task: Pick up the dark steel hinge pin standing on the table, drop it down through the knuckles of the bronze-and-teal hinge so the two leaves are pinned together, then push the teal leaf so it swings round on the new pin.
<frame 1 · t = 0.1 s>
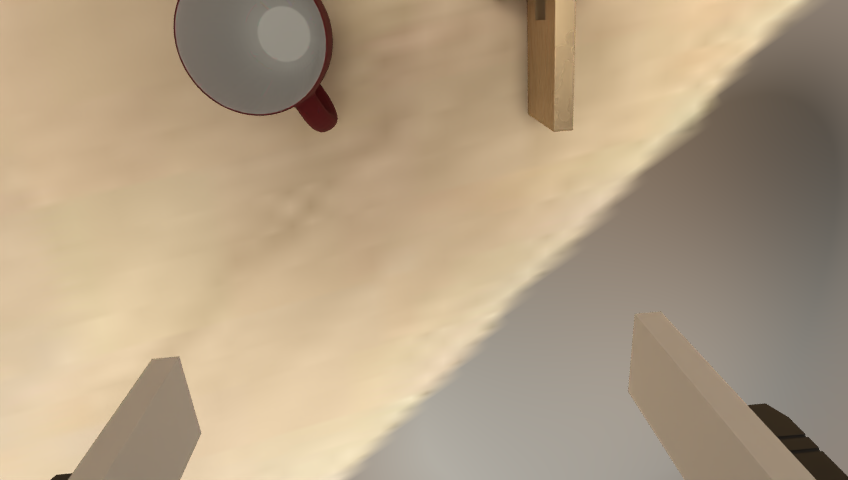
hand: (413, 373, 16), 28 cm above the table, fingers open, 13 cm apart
mug: (297, 48, 39), on the table
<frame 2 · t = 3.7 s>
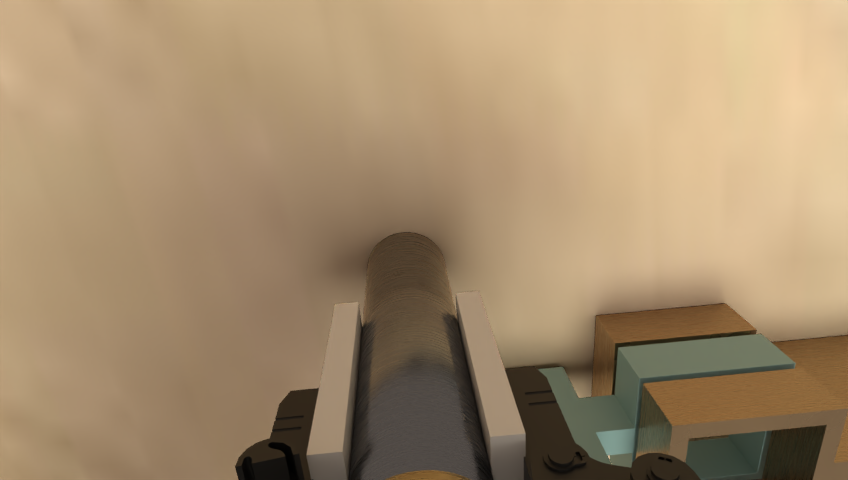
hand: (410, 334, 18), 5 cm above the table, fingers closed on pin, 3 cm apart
leaf a: (655, 364, 25), on the table
pin: (406, 268, 23), on the table, touching gripper
leaf b: (596, 428, 22), point 4 cm above the table, hinge at 180.0°
when the fingers open (8 cm above the table, at t = 8.1 s): pin drops 3 cm, resting in leaf a.
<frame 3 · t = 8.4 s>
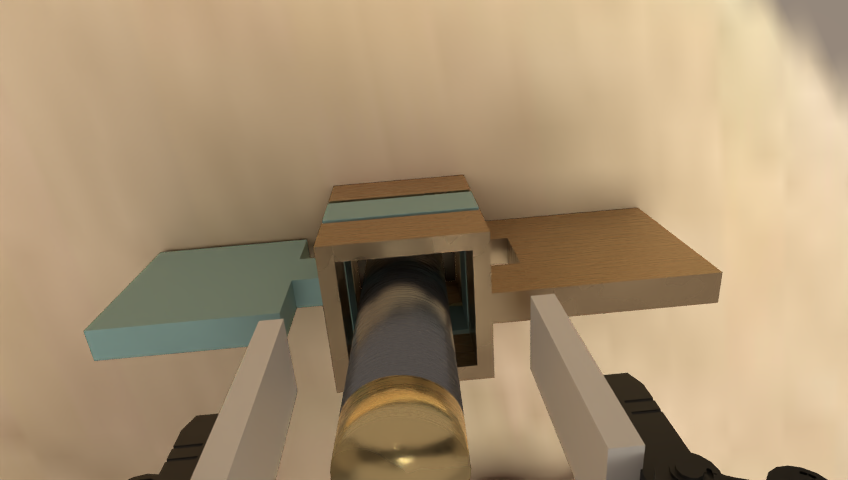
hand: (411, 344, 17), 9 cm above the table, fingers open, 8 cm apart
leaf a: (404, 240, 25), on the table
pin: (405, 240, 25), resting in leaf a
leaf b: (306, 283, 22), point 4 cm above the table, hinge at 180.0°
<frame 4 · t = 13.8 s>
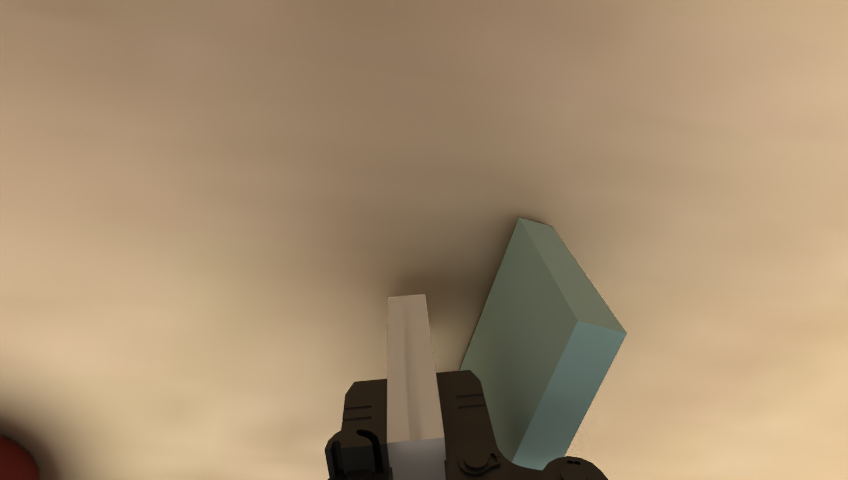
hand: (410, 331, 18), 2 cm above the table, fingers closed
leaf b: (481, 450, 18), point 4 cm above the table, hinge at 176.0°, touching gripper
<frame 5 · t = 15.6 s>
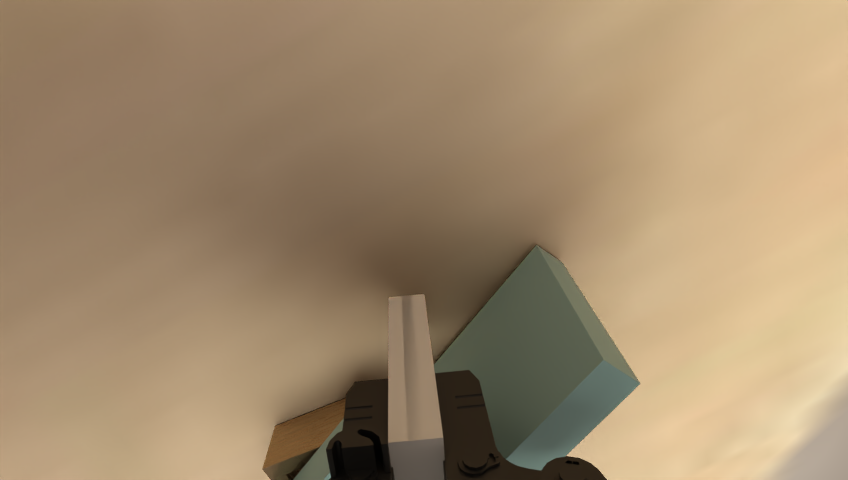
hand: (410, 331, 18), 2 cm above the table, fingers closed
leaf a: (373, 451, 22), on the table
leaf b: (437, 454, 18), point 4 cm above the table, hinge at 119.9°, touching gripper
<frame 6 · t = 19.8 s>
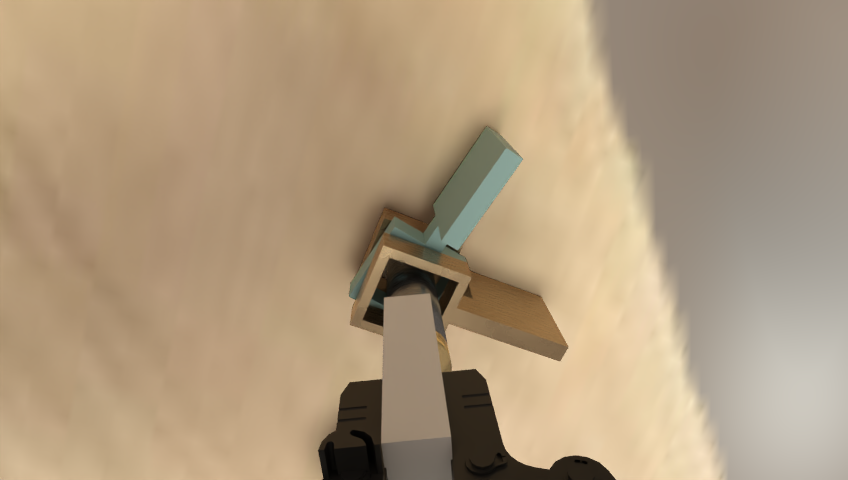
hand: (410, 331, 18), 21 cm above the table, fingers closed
leaf a: (406, 255, 40), on the table
pin: (407, 255, 40), resting in leaf a
leaf b: (441, 230, 36), point 4 cm above the table, hinge at 79.9°
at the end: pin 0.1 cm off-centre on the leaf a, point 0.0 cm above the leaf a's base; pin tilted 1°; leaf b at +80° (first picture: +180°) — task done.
